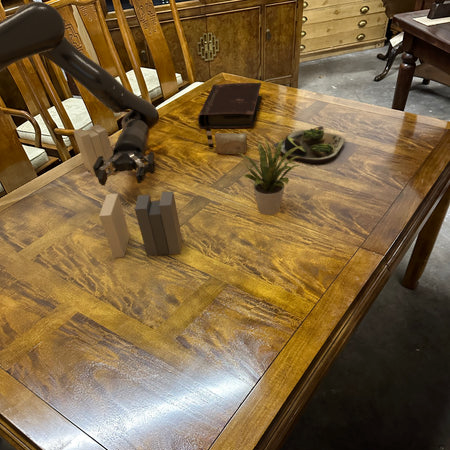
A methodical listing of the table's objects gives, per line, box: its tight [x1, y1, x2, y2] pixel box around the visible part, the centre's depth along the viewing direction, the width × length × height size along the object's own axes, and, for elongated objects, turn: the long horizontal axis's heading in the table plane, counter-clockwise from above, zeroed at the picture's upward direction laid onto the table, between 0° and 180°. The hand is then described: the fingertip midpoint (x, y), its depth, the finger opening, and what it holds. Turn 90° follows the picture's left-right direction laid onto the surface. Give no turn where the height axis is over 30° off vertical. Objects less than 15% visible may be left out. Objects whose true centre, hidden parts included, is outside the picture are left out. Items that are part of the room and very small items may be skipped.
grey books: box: [134, 190, 183, 257], centre depth 88 cm, size 5×7×12 cm
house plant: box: [237, 137, 303, 216], centre depth 94 cm, size 14×14×16 cm
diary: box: [197, 82, 262, 129], centre depth 139 cm, size 19×25×5 cm
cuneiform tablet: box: [204, 126, 248, 155], centre depth 119 cm, size 7×4×12 cm
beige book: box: [98, 193, 131, 259], centre depth 90 cm, size 8×2×11 cm, turn 0°
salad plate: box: [272, 125, 345, 165], centre depth 118 cm, size 19×18×5 cm
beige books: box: [72, 124, 115, 177], centre depth 116 cm, size 5×7×12 cm
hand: (120, 180), depth 95 cm, fingers open, 8 cm apart
